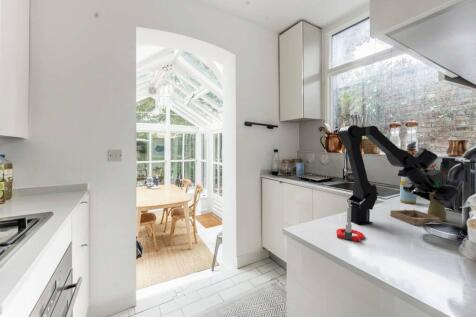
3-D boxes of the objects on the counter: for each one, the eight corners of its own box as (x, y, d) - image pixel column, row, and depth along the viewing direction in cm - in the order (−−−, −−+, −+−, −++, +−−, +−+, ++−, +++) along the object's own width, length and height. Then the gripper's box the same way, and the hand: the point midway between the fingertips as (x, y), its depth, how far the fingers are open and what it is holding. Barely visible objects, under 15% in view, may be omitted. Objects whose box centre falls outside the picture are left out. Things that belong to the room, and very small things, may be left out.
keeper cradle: (414, 225, 80) (414, 219, 80) (390, 216, 92) (390, 210, 92) (441, 224, 81) (442, 218, 81) (414, 215, 93) (414, 209, 93)
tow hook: (338, 229, 78) (333, 237, 70) (339, 195, 78) (335, 199, 70) (364, 235, 73) (362, 243, 66) (366, 198, 73) (364, 203, 65)
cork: (439, 221, 84) (441, 194, 83) (422, 217, 90) (424, 191, 89) (450, 220, 85) (451, 193, 85) (432, 215, 91) (434, 190, 91)
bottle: (414, 202, 116) (415, 175, 115) (417, 204, 110) (418, 176, 109) (398, 200, 120) (399, 174, 119) (400, 203, 114) (401, 175, 113)
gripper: (455, 164, 77) (480, 194, 78) (409, 161, 95) (431, 185, 97) (434, 186, 77) (460, 215, 78) (393, 178, 95) (414, 202, 96)
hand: (440, 203), depth 87 cm, fingers closed on cork, 5 cm apart
